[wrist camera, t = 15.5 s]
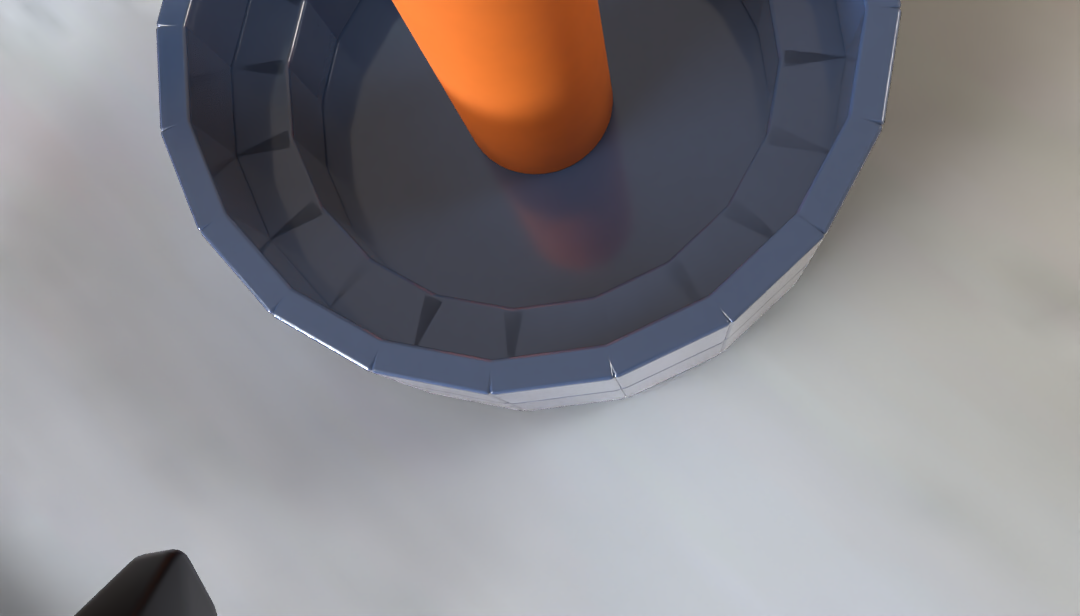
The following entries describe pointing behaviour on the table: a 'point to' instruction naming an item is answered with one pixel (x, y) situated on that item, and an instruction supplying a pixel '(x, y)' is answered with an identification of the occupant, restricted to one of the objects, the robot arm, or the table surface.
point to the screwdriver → (520, 75)
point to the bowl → (522, 186)
